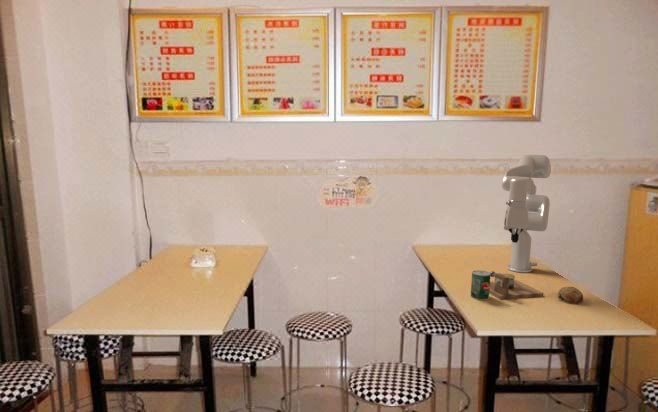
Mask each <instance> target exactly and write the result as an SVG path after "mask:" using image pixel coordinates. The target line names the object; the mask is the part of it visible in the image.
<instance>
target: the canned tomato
mask: <svg viewBox="0 0 658 412" xmlns="http://www.w3.org/2000/svg"><path fill="white" fill-rule="evenodd" d="M490 275H491V274H490V272H489V271H486V270H485V271H484V270H472V272H471V282H470V283H471V285H470V297H471V298H472V299H476V300H479V301H480V300H481V301H482V300H484V301H485V299H486V300H489V299H490V293H489V289H490V282H491V276H490Z"/></svg>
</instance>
